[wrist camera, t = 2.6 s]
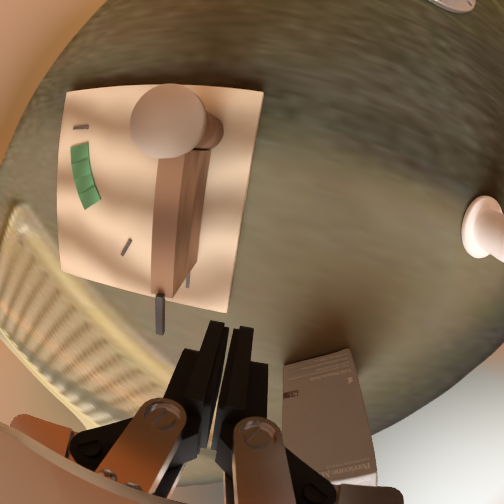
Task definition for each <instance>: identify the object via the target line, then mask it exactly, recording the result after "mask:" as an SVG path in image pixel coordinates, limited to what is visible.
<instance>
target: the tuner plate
mask: <svg viewBox="0 0 504 504" xmlns="http://www.w3.org/2000/svg"><path fill="white" fill-rule="evenodd" d="M156 86H159V85H128V86H114V87H103V88H94V89H86V90H78V91H72V92H67V95H66V101H65V106H64V112H63V119H62V126H61V135H60V144H59V156H58V174H57V221H58V238H59V250H60V260H61V269H62V271H63V272H66V273H69V274H72V275H76V276H79V277H82V278H86V279H89V280H92V281H96V282H99V283H103V284H106V285H110V286H113V287H117V288H121V289H124V290H128V291H132V292H136V293H139V294H143V295H147V296H151V297H155V296H156V295H155V294H151V247H152V226H153V210H154V198H155V187H156V177H157V168H158V159H159V158H153V157H150V156H148V155H146V154H144V153H143V152H142V151H140V150H139V149H138V147H137V146H136V145H135V143H134V141H133V139H132V136H131V133H130V118H131V114H132V111H133V109H134V107H135V105H136V103H137V102H138V100H139V99H140V98H141V97H142V96H143V95H144V94H145V93H146V92H147V91H149V90H150V89H152V88H154V87H156ZM182 86H184V87H186V88H188V89H189V90H191V91H192V92H194V93H195V94H196V95H197V96H198V97H199V98H200V99H201V100H202V102H203V104H204V106H205V109H206V111H207V112H209V113H210V114H212V115H214V116H215V117H217V118H218V119H219V120H220V121H221V123H222V125H223V129H224V134H223V137H222V140H221V141H220V143H219V144H218V145H217V146H215V147H214V148H212V149H209V150H207V151H211V155H210V162H209V168H208V175H207V182H206V189H205V197H204V205H203V213H202V221H201V229H200V238H199V248H198V257H197V262H196V264H195V265H194V267H193V268H192V270H191V271H190V273H189V274H188V276H187V277H186V279H185V280H184V282H183V283H182V285H181V286H180V288H179V289H178V291H177V292H176V294H175V295H174V297H173V299H172V298H168V297H165V300H168V301H172V302H176V303H181V304H185V305H190V306H194V307H199V308H204V309H208V310H213V311H218V312H223V313H227V310H228V306H229V301H230V294H231V288H232V281H233V275H234V269H235V262H236V256H237V250H238V244H239V237H240V231H241V225H242V219H243V213H244V207H245V201H246V195H247V189H248V183H249V177H250V171H251V166H252V160H253V154H254V148H255V143H256V137H257V131H258V126H259V120H260V115H261V109H262V104H263V98H264V93H263V92H259V91H252V90H244V89H236V88H226V87H214V86H199V85H182Z"/></svg>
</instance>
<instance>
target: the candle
mask: <svg viewBox="0 0 504 504" xmlns="http://www.w3.org/2000/svg"><path fill="white" fill-rule="evenodd" d="M461 235H462V242H463V245H464V248H465V249H466V251H467V252H468V253H469V254H470V255H471V256H473V257H475V258H483V257H486V256H487V255H489V254H491V255H493V256H494V257H496V258H497V259H499V260H500V261H502V262H504V214H502V210H501V207H500V205H499V204H498V202H497V201H496V200H495V199H494V198H492V197H489V196H480V197H478V198H476V199H475V200H474V201H473V202H472V203H471V204H470V205H469V207H468V208H467V210H466V213H465V215H464V218H463V222H462V230H461Z"/></svg>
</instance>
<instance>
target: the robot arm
mask: <svg viewBox="0 0 504 504" xmlns="http://www.w3.org/2000/svg"><path fill="white" fill-rule="evenodd" d="M428 1H430V2H432V3H433V4H435V5H437V6H439V7H441V8H443V9H445V10H448V11H451V12H454V13H466V12H468V11H470V10H472V9H473V8H474V6H475V0H428ZM224 324H225V323H222V322H217V321H212V320H211V321H210V323H209V326H208V329H207V331H206V334H205V337H204V340H203V343H202V346H201V348H200V351H195V350H191V349H186V348H185V349H184V350H183V352H182V354H181V357H180V359H179V361H178V364H177V366H176V368H175V371H174V373H173V376H172V378H171V380H170V383H169V385H168V388H167V390H166V392H165V395H164V397H163V398H155V399H151V400H149V401H147V402H145V403H144V404H143V405H142V406H141V407H140V409H139V410H138V412H137V413H136V415H135V416H134V417H133V418H129V419H126V420H123V421H119V422H116V423H112V424H109V425H105V426H101V427H98V428H94V429H90V430H86V431H82V432H80V433H77V432H74V431H73V430H72V429H71V428H67V427H64V426H60V425H57V424H54V423H51V422H48V421H45V420H42V419H39V418H36V417H33V416H30V415H27V414H22V415H18V416H17V417H15V418H14V419H13V421H12V422H11V424H10V426H8V425H6V424H3V423H1V422H0V504H186V503H181V502H178V501H174V500H170V497H171V495H172V493H173V491H174V489H175V487H176V485H177V483H178V481H179V479H180V477H181V475H182V472H183V470H184V468H185V466H186V463H187V462H188V461H191V460H193V459H195V458H197V454H199V452H200V448H206V447H207V443H208V438H209V434H210V429H211V424H212V420H213V415H214V411H215V406H216V401H217V397H218V392H219V388H220V383H221V378H222V372H223V365H224V359H225V352H226V346H227V340H228V333H229V327H224ZM253 332H254V328H250V327H244V326H240V328H239V329H233V334H232V339H231V344H230V348H229V353H228V358H227V362H226V367H225V372H224V377H223V381H222V386H221V391H220V396H219V401H218V406H217V412H216V419H215V426H214V432H213V439H212V446H211V450H216V451H217V454H216V459H215V462H216V463H217V464H218V465H219V466H220V467H221V468H222V470H223V484H224V504H404V500H403V495H402V494H401V492H400V491H399V490H397V489H396V488H392V487H380V486H364V485H353V484H344V483H341V484H340V485H336V484H332V483H331V482H330V481H329V480H327V479H326V478H324V477H323V476H322V475H320V474H319V473H318V472H316V471H315V470H314V469H312V468H311V467H310V466H308V465H307V464H306V463H305V462H303V461H302V460H301V459H300V458H298V457H297V456H296V455H295V454H293V453H292V452H291V451H290V450H289V449H287V448H286V447H285V446H284V442H283V437H282V433H281V431H280V428H279V427H278V426H277V425H276V424H275V423H274V422H272V421H271V420H268V419H267V395H268V364H265V363H258V362H252V361H251V351H252V341H253Z"/></svg>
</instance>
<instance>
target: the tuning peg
mask: <svg viewBox="0 0 504 504" xmlns="http://www.w3.org/2000/svg"><path fill="white" fill-rule="evenodd" d="M130 133H131V136H132V139H133V141H134V143H135V145H136V146H137V147H138V149H139V150H140V151H142V152H143V153H144V154H146V155H148V156H150V157H153V158H159V159H158V168H157V177H156V187H155V198H154V210H153V226H152V247H151V294H155V295H156V296H155V310H156V334H159V335H163V334H164V332H165V297H168V298H172V299H173V297H174V295H175V294H176V292H177V291H178V289H179V288H180V286H181V285H182V283H183V282H184V280H185V279H186V277H187V276H188V274H189V273H190V271H191V270H192V268H193V267H194V265H195V264H196V262H197V257H198V248H199V238H200V229H201V221H202V213H203V205H204V197H205V189H206V182H207V175H208V168H209V162H210V155H211V151H207V150H209V149H212V148H214V147H215V146H217V145H218V144H219V143H220V141H221V140H222V137H223V134H224V129H223V125H222V123H221V121H220V120H219V119H218V118H217V117H215V116H214V115H212V114H210V113H209V112H207V111H206V109H205V106H204V104H203V102H202V100H201V99H200V98H199V97H198V96H197V95H196V94H195V93H194V92H192V91H191V90H189V89H188V88H186V87H184V86H182V85H179V84H171V83H170V84H162V85H159V86H156V87H154V88H152V89H150V90H149V91H147V92H146V93H145V94H144V95H143V96H142V97H141V98H140V99H139V100H138V102H137V103H136V105H135V107H134V109H133V111H132V114H131V118H130Z"/></svg>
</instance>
